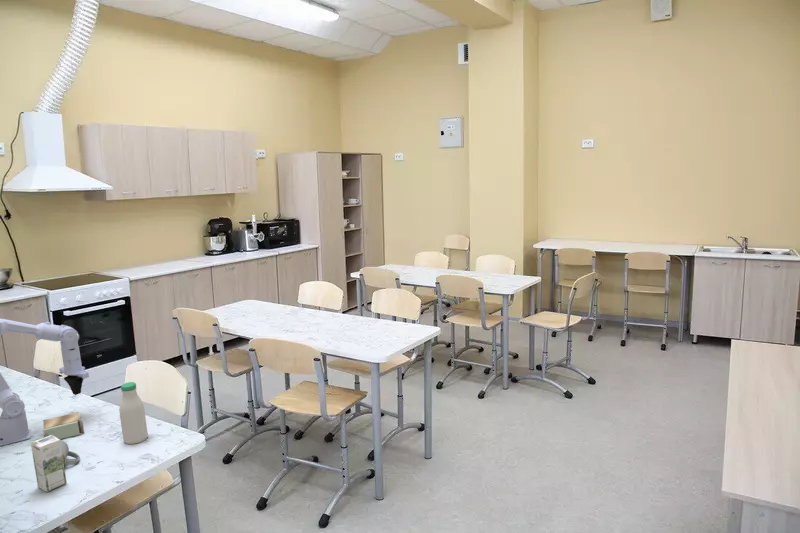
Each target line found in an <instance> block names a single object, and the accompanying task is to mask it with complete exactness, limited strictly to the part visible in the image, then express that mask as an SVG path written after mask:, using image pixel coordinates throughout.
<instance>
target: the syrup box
mask: <svg viewBox="0 0 800 533" xmlns="http://www.w3.org/2000/svg"><path fill="white" fill-rule="evenodd" d="M60 440H61V439H58V438H56V437H54V436H52V435H50V436H47V437H44V436H43V437H42V438H39V439H37V440H34V441H32V442H30V447H31V452H32V459H33V464H34V470H35V478H36V482H37V487H38V488H40V489H41V490H43V491H44V492H46V493H49V492H50V491H53V490H55V489H57V488H59V487H61V486H64V485H66V484H67V476H66V471H65V464H64V462H63V455H62V449H61V442H60Z"/></svg>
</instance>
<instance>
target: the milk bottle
mask: <svg viewBox="0 0 800 533" xmlns="http://www.w3.org/2000/svg"><path fill="white" fill-rule="evenodd" d="M120 390H121V393H122V398H121V400H120V404H119V420H120V427H121V434H122V440H123V443H125V444H127V445H134V444H140V443H141V442H143V441H145V440H147V438H148V427H147V426H148V425H147V419H146V412H145V406H144V402H143V400H142V399H141V397H140V395H139V394H138V393H137V384H136V382H134V381H129V382H125V383H122V384H121V385H120Z"/></svg>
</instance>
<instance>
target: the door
mask: <svg viewBox="0 0 800 533" xmlns="http://www.w3.org/2000/svg"><path fill="white" fill-rule="evenodd" d="M42 432H43V438H44V437H47V436H50V435H52V436H54V437H56V438H58V439H59V440H62V439H66V438H67V439H68V438H70V437H74V436H78V435H80V434H81V433H79V426H78V421H76V422H72V423H67V424H63V425H59V426H55V427H51V428H46V429H44V428H43V430H42Z"/></svg>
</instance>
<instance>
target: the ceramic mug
mask: <svg viewBox="0 0 800 533" xmlns="http://www.w3.org/2000/svg"><path fill="white" fill-rule="evenodd" d="M59 440H60V442H61V449H62V455H63V462H64V465H67V466H73V465H77V464H78V463H79V461H80V457H81V456H80V455H79V454H78V453H77V452H75V451H70V446H69V444H67V442H66V441H64V440H62V439H59ZM68 457H72V458H74V459H75V460H74V459H73V460H69V459H67V458H68Z"/></svg>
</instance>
